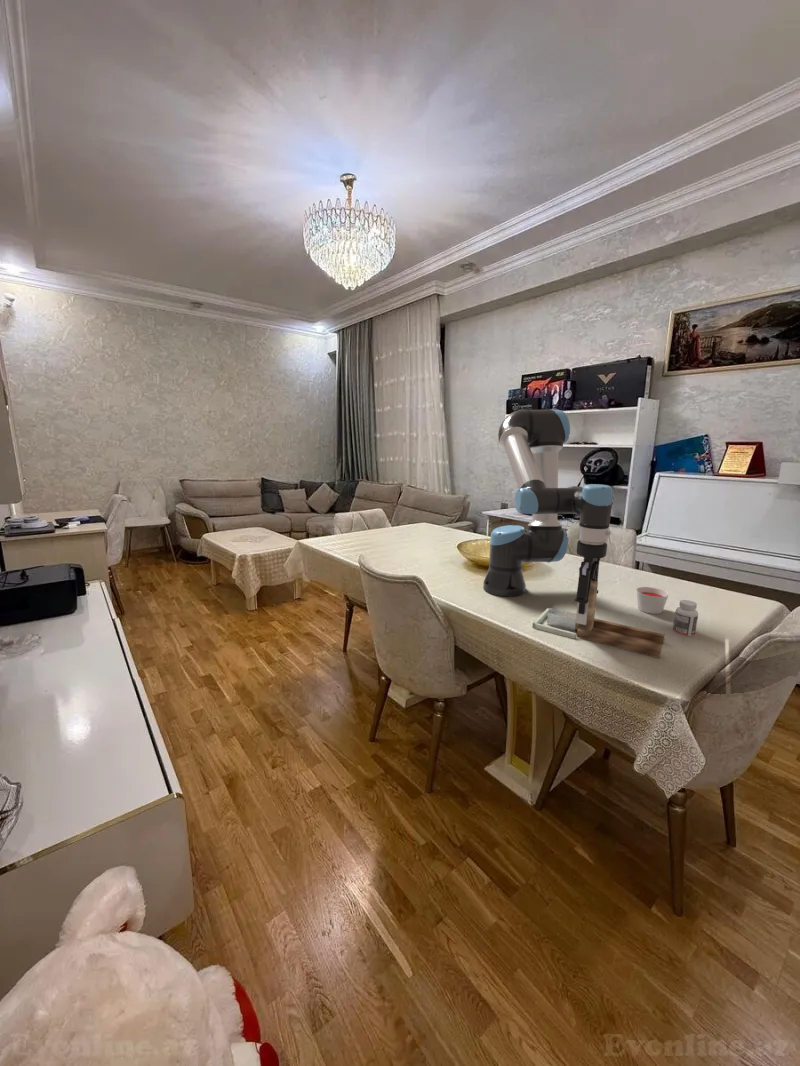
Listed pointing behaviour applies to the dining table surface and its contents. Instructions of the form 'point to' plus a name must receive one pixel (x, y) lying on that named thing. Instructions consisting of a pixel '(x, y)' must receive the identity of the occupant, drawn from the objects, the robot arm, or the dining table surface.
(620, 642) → the slot board
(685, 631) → the pill bottle
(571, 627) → the pinkish grey cube
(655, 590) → the white round cup
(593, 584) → the tapered wooden board
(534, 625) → the tray
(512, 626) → the dining table surface
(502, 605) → the dining table surface
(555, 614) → the grey cube
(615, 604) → the dining table surface
